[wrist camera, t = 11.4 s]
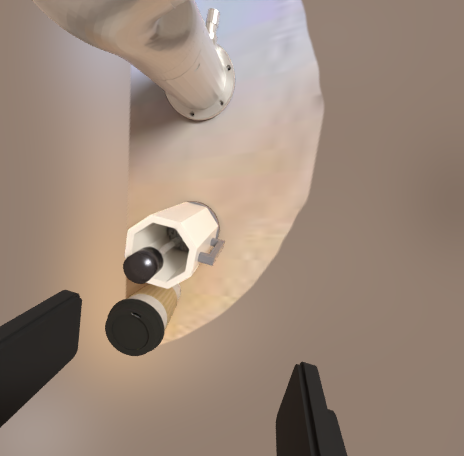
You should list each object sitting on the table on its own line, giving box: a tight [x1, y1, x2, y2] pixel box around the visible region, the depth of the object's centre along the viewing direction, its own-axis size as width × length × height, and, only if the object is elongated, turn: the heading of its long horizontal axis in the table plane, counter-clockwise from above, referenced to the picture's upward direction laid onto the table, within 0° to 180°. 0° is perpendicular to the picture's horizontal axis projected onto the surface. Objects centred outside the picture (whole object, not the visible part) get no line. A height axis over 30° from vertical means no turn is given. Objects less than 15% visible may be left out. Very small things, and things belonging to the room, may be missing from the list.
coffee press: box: [124, 201, 225, 289], centre depth 42 cm, size 11×13×16 cm
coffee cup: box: [105, 283, 181, 356], centre depth 46 cm, size 10×10×15 cm
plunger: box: [123, 227, 189, 284], centre depth 37 cm, size 7×7×18 cm
